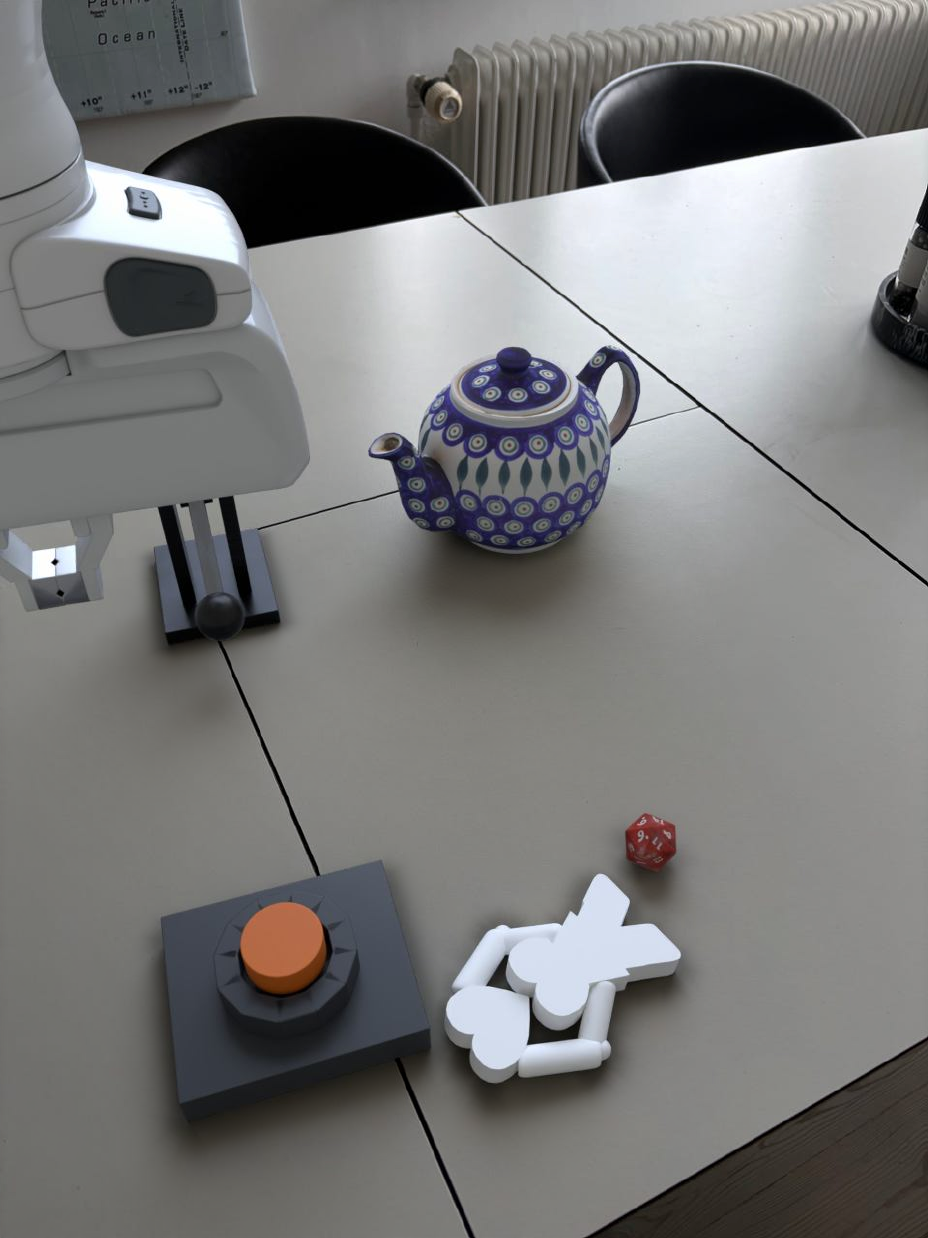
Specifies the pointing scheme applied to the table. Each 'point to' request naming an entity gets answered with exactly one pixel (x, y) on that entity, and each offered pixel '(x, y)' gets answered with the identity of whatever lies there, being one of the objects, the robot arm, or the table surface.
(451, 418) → the teapot
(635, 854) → the die
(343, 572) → the table surface
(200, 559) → the lever
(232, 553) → the bracket
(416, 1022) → the control block
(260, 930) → the button
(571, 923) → the white abstract figurine
